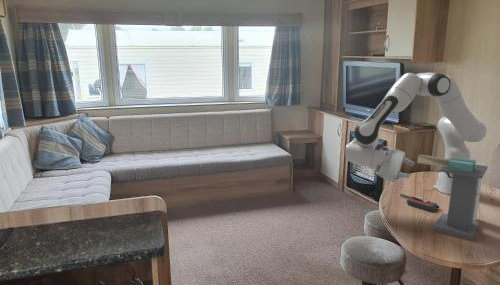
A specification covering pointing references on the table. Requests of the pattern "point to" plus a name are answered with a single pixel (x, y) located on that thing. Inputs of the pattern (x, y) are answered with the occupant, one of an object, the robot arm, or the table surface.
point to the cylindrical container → (477, 194)
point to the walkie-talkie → (420, 203)
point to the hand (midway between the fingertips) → (411, 170)
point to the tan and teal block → (449, 163)
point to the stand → (461, 204)
